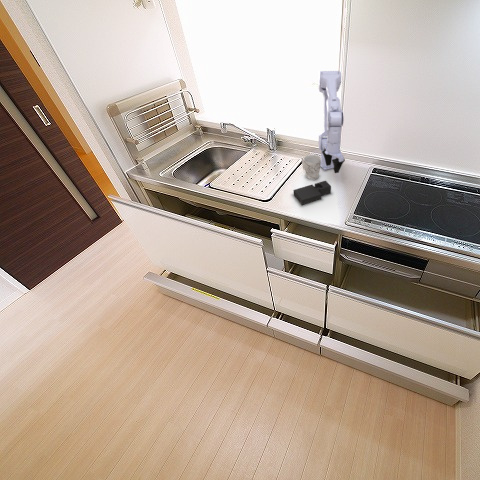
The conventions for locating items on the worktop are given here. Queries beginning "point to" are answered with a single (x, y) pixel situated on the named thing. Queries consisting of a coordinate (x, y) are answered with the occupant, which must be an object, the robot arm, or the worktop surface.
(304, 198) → the base pad
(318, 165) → the mug
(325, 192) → the pad
